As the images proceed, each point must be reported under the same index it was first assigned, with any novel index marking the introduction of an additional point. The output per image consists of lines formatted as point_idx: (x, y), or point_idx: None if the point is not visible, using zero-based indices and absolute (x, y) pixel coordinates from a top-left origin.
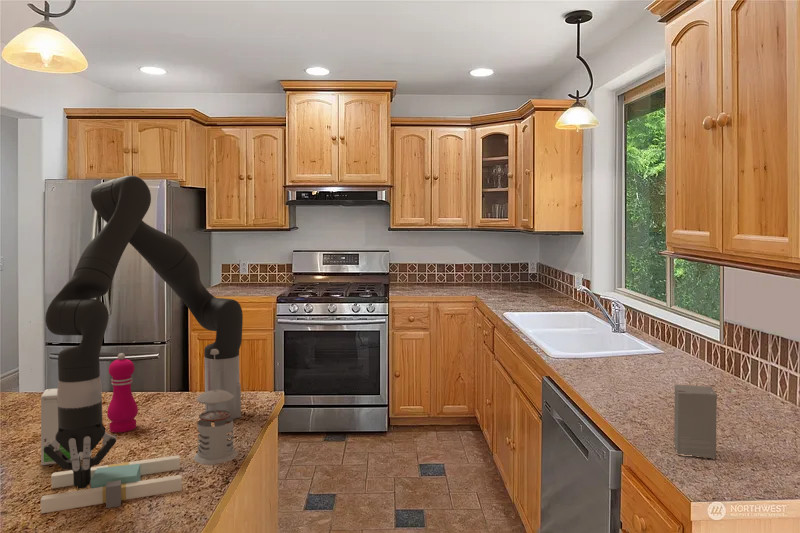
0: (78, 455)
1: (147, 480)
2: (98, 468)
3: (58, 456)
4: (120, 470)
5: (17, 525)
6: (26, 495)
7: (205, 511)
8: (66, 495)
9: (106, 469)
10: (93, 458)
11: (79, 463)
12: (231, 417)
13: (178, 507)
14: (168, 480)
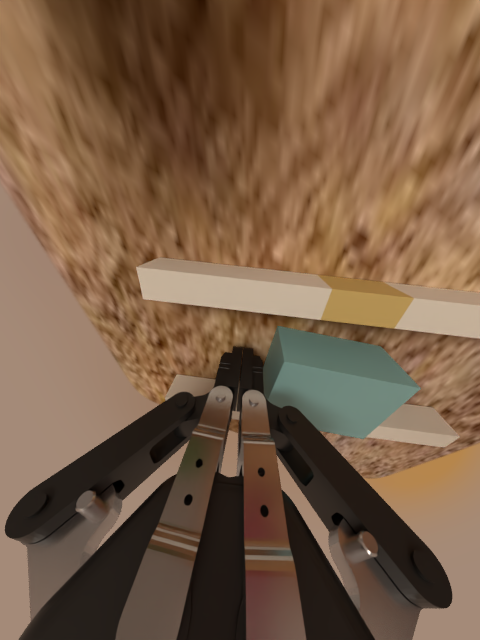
0: (219, 472)
1: (378, 428)
2: (288, 363)
3: (143, 477)
4: (343, 402)
5: (155, 401)
6: (113, 297)
7: (399, 467)
8: None
9: (309, 381)
10: (275, 439)
11: (227, 433)
12: None
13: (376, 450)
14: (415, 442)
